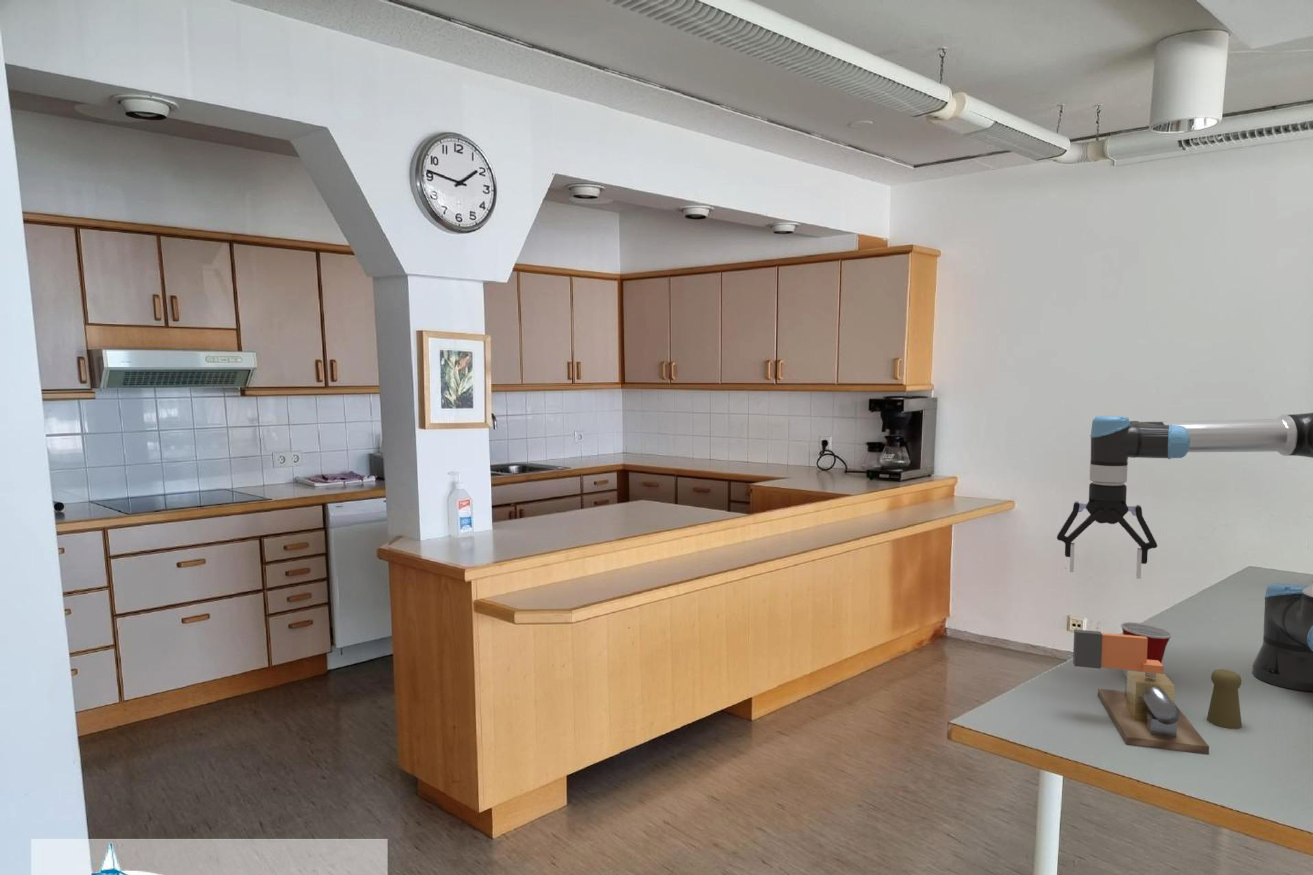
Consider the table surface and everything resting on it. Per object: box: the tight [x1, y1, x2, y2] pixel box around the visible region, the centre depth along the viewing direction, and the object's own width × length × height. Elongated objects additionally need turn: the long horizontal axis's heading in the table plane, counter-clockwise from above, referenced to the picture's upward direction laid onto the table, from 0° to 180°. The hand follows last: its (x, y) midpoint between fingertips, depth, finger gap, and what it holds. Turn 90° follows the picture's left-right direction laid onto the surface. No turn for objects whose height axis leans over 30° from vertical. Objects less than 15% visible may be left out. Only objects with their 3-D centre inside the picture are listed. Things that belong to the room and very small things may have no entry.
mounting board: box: [1097, 688, 1210, 755], centre depth 170 cm, size 14×26×2 cm, turn 162°
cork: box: [1206, 668, 1243, 730], centre depth 169 cm, size 6×6×11 cm
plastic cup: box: [1120, 621, 1173, 664], centre depth 196 cm, size 11×11×12 cm
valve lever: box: [1072, 629, 1165, 678], centre depth 171 cm, size 16×4×8 cm, turn 72°
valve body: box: [1123, 669, 1180, 738], centre depth 170 cm, size 7×24×8 cm, turn 162°
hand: (1104, 574), depth 188 cm, fingers open, 13 cm apart
